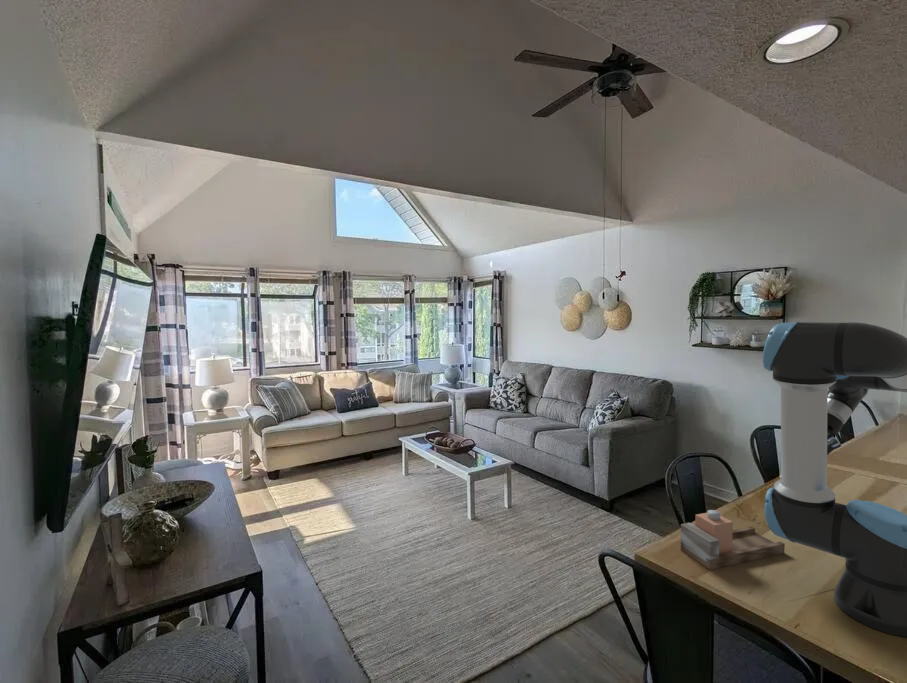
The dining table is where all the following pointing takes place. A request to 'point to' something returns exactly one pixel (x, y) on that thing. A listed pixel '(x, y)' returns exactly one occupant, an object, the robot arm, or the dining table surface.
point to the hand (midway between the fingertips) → (784, 480)
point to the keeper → (716, 528)
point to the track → (743, 546)
